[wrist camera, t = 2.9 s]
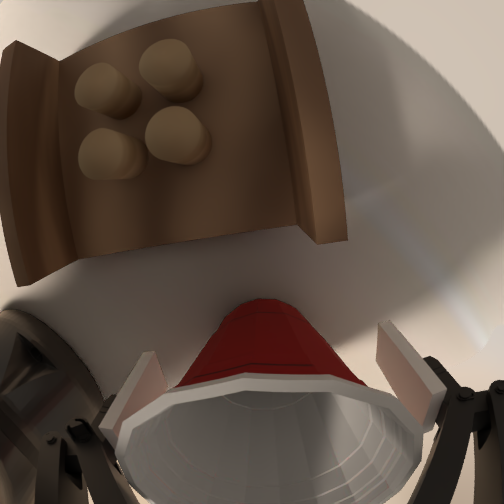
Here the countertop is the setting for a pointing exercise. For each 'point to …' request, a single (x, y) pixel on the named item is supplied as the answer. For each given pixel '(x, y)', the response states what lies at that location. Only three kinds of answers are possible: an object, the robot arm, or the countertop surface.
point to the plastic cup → (269, 423)
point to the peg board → (168, 196)
